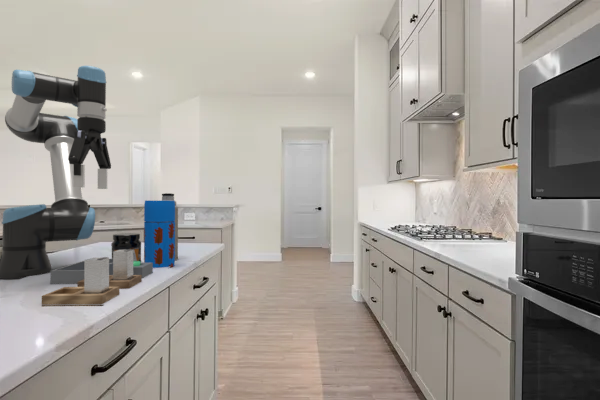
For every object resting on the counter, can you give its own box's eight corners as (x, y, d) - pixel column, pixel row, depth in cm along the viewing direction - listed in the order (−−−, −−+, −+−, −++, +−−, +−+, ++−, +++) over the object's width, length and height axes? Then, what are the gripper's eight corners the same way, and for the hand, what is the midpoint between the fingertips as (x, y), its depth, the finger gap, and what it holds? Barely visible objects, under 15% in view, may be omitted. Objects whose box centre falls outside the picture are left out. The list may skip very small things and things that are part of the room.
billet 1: (84, 301, 89) (84, 259, 90) (92, 296, 93) (93, 256, 94) (101, 301, 90) (101, 259, 90) (108, 296, 94) (109, 256, 94)
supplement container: (133, 267, 137) (133, 235, 137) (105, 267, 137) (105, 235, 137) (146, 262, 148) (146, 233, 148) (120, 262, 148) (120, 232, 148)
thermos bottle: (163, 258, 159) (163, 193, 159) (180, 258, 159) (181, 193, 159) (154, 261, 151) (154, 193, 151) (172, 261, 151) (173, 193, 151)
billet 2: (113, 286, 105) (113, 251, 105) (119, 283, 109) (119, 249, 109) (127, 286, 105) (127, 250, 105) (133, 283, 109) (133, 249, 109)
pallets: (41, 306, 87) (41, 295, 87) (94, 283, 111) (94, 275, 111) (102, 306, 87) (102, 295, 87) (141, 283, 111) (141, 275, 111)
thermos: (180, 265, 142) (181, 200, 142) (161, 270, 132) (162, 200, 132) (157, 263, 146) (158, 200, 146) (137, 268, 136) (137, 200, 136)
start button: (124, 272, 118) (124, 262, 118) (130, 270, 122) (130, 260, 122) (137, 272, 118) (137, 262, 118) (142, 269, 122) (142, 260, 122)
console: (113, 280, 115) (113, 267, 115) (125, 274, 124) (125, 262, 124) (142, 280, 116) (142, 267, 116) (152, 274, 125) (152, 262, 125)
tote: (50, 286, 107) (50, 270, 107) (90, 271, 129) (90, 258, 129) (92, 285, 108) (92, 270, 108) (125, 271, 130) (125, 258, 130)
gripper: (81, 108, 100) (81, 186, 100) (122, 127, 125) (121, 189, 125) (53, 108, 100) (53, 186, 100) (99, 126, 125) (99, 189, 125)
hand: (91, 188), depth 113 cm, fingers open, 13 cm apart
